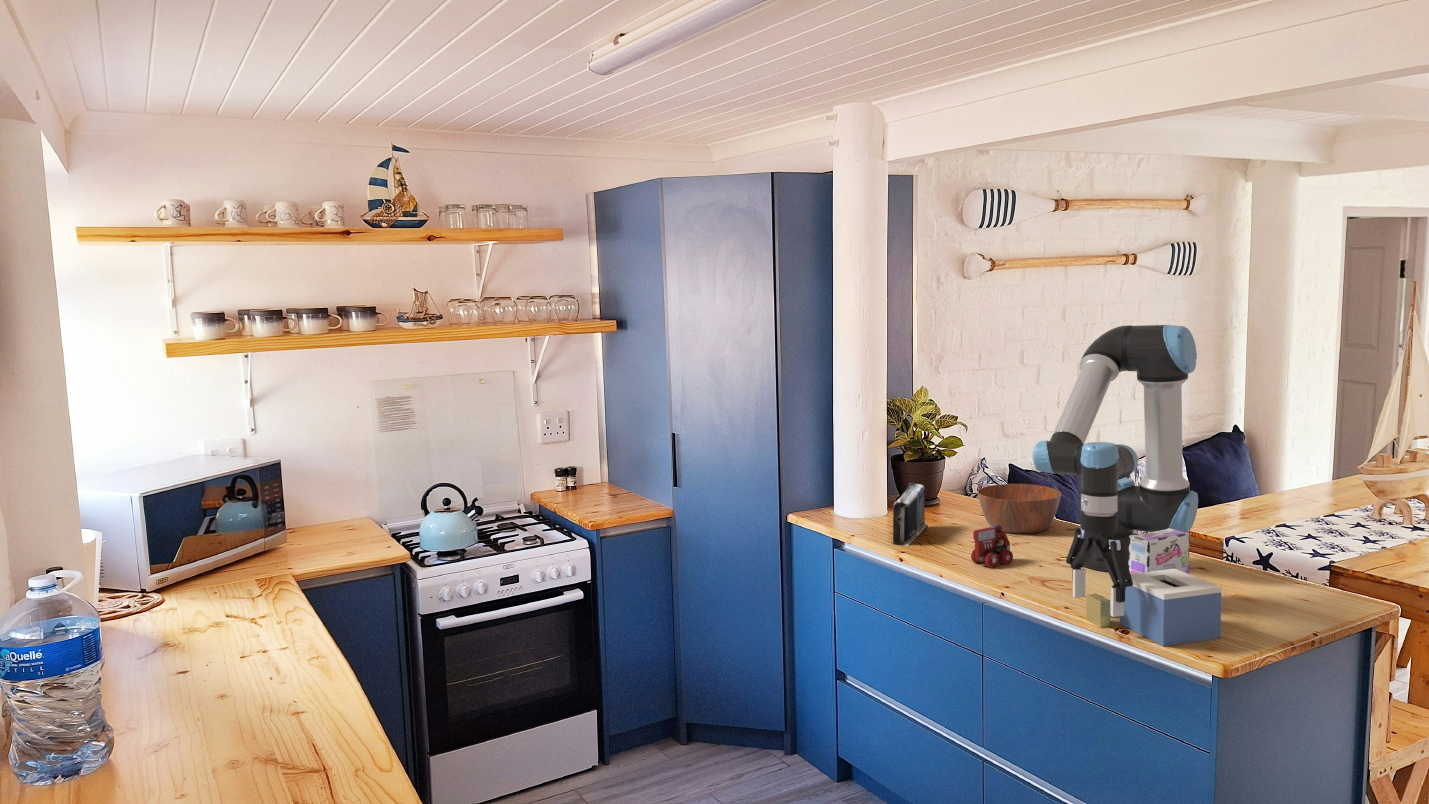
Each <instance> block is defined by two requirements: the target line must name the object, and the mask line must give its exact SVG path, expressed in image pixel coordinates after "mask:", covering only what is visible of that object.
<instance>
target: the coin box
mask: <svg viewBox="0 0 1429 804" xmlns="http://www.w3.org/2000/svg"><path fill="white" fill-rule="evenodd" d="M1131 578H1132V581H1133V586H1129V587H1126V589H1125V602H1124V616H1119V625H1121V626H1123V627H1124V628H1126V629H1128V630H1131V631H1132V632H1133V633H1137V634H1139V635H1140V636H1142V637H1144V638H1147V640H1150V641H1152V642H1154V643H1156V644H1158V645H1160V646H1162V647H1169V646H1174V645H1175V646H1176V645H1182V644H1188V643H1189V644H1190V643H1195V642H1196V643H1197V642H1202V641H1203V642H1204V641H1210V640H1211V641H1212V640H1216V639H1217V640H1218V639H1221V632H1222V631H1221V630H1222V629H1221V626H1222V624H1221V623H1222V622H1221V619H1222V586H1221V585H1218V584H1216V583H1213V582H1210V581H1208V580H1204V579H1202V578H1200V577H1196V576H1194V575H1192V574H1190V573H1189V574H1187V573H1185V572H1182V571H1179V570H1177V569H1167V570H1158V571H1150V572H1142V573H1134V574H1131ZM1126 581H1127V580H1126Z"/></svg>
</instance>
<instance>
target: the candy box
mask: <svg viewBox="0 0 1429 804" xmlns="http://www.w3.org/2000/svg"><path fill="white" fill-rule="evenodd" d="M1128 567H1129V571H1130V574H1134V573H1142V572H1150V571H1158V570H1167V569H1177V570H1179V571H1182V572H1185V573H1187V574H1190V533H1189V532H1188V533H1186V532H1182V531H1179V530H1174V529H1170V528H1169V529H1166V530H1161V531H1155V532H1144V533H1139V534H1133V535H1130V536H1129V566H1128Z"/></svg>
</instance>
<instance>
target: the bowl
mask: <svg viewBox="0 0 1429 804" xmlns="http://www.w3.org/2000/svg"><path fill="white" fill-rule="evenodd" d="M976 493H977V497H978V501H979V505H980V508H981V511H982V514H983V516H984V519H985V520H986V522H987V523H988V525H989V527H993V528H994V527H995V526H996V525H1000V526H1001V528H1002V531H1004V532H1005V533H1006V534H1019V535H1026V534H1027V535H1028V534H1035V533H1041V532H1043V531H1045V530H1047V529H1048V528H1049V527H1050V526H1051V524H1052V522H1053V521H1054V518H1055V516H1056V514H1057V511H1058V510H1059V509H1058V508H1059V506H1060V503H1061V502H1060V501H1061V497H1062V492H1061V491H1060V490H1058V489H1056V488H1052V487H1049V486H1044V485H1037V484H1028V483H1002V484H1001V483H1000V484H993V485H987V486H986V485H985V486H983V487H980V488H978V489H977V491H976Z"/></svg>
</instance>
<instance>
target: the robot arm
mask: <svg viewBox="0 0 1429 804" xmlns="http://www.w3.org/2000/svg"><path fill="white" fill-rule="evenodd" d="M1195 341H1196V340H1195V338H1194V336H1193V333H1192V332H1191V331H1190V329H1189V328H1187V327H1186V326H1183V325H1172V324H1150V325H1149V324H1148V325H1131V324H1130V325H1128V324H1127V325H1120V326H1117V327H1114V328H1111V329H1109V330H1108V331H1106V332H1104V333H1102V334H1101V335H1100V336H1099V337H1098V338H1097V337H1096V339H1095V340H1094V341H1093V342H1092V343H1091V344H1090V345H1089V346H1088V347H1087V349H1086V350H1085V352H1084V353H1083V354H1082V356H1081V358H1080V361H1079V365H1078V366H1079V370H1080V372H1079V373H1078V377H1077V379H1076V381H1075V383H1074V386H1073V388H1072V391H1071V393H1070V394H1069V397H1068V399H1067V402H1066V404H1065V406H1064V408H1063V410H1062V413H1061V415H1060V418H1059V419H1058V421H1057V424H1056V425H1055V429H1054V431H1053V433H1052V435H1051V437H1050V439H1049V440H1040V441H1038V442H1037V443H1035V445H1034V447H1033V452H1032V462H1033V465H1034V468H1035V469H1036V470H1037V471H1039V472H1042V473H1047V474H1053V475H1054V474H1057V475H1067V476H1068V475H1070V476H1080V511H1082V512H1081V513H1080V523H1079V524H1080V527H1075V529H1074V535H1073V536H1074V537H1073V539H1072V542H1071V545H1070V548H1069V551H1068V554H1067V557H1066V559H1065V563H1066V564H1069V566H1070V568H1071V569H1072V574H1071V575H1072V598H1074V599H1080V598H1086V569H1085V568H1088V569H1090V570H1094V571H1101V572H1107V573H1108V575H1109V577H1110V580H1111V582H1112V583H1113V585H1111V588H1110V617H1114V618H1115V617H1120V616H1124V602H1125V589H1126V587H1129V586H1133V581H1132V578H1131V574H1130V571H1129V567H1128V566H1129V536H1130V535H1134V531H1140V532H1145V533H1149V532H1155V531H1161V530H1166V529H1169V528H1170V529H1174V530H1179V531H1182V532H1186V533H1189V532H1190V531H1191V529H1192V528H1193V525H1194V523H1195V521H1196V517H1197V513H1198V508H1199V507H1198V506H1199V497H1198V496H1199V495H1198V493H1197V492H1196V491H1194V490H1191V489H1190V488H1191V486H1190V481H1188V480H1187V479H1186V478H1185V477H1184V476H1183V475H1184V474H1183V472H1184V469H1183V465H1184V464H1183V405H1182V403H1183V401H1182V399H1183V397H1182V396H1183V395H1182V394H1183V393H1182V387H1183V384H1185V382H1187V380H1188V379H1189V374H1190V373H1193V372H1194V371H1195V369H1196V367H1197V359H1198V358H1197V357H1198V356H1197V355H1198V354H1197V348H1196V342H1195ZM1121 372H1136V380H1137V381H1138V382H1139V383H1140V385H1142V386H1143V407H1144V408H1143V412H1144V413H1143V414H1144V415H1143V416H1144V449H1145V451H1144V457H1145V460H1144V461H1145V476H1144V477H1143V478H1142V479H1141V480H1140V481H1139V485H1135V484H1136V483H1135V481H1134V479H1133V478H1128V477H1129V476H1131V474H1132V473H1134V472H1135V470H1137V468H1138V464H1139V459H1138V454H1137V452H1136V451H1135V450H1134V449H1133V448H1132V447H1131V446H1128V445H1127V444H1122V443H1121V444H1115V443H1113V442H1107V441H1092V442H1091V441H1090V442H1086V440H1087V438H1088V436H1089V434H1090V432H1091V431H1090V430H1091V428H1092V426H1093V423H1094V421H1095V420H1096V417H1097V414H1098V412H1099V409H1100V407H1101V405H1102V403H1103V400H1104V399H1105V396H1106V394H1107V391H1108V388H1109V387H1110V384H1111V382H1112V381H1114V380H1115V381H1116V379H1117V377H1119V374H1120V373H1121ZM1085 442H1086V443H1085ZM1126 580H1127V581H1126Z"/></svg>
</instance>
